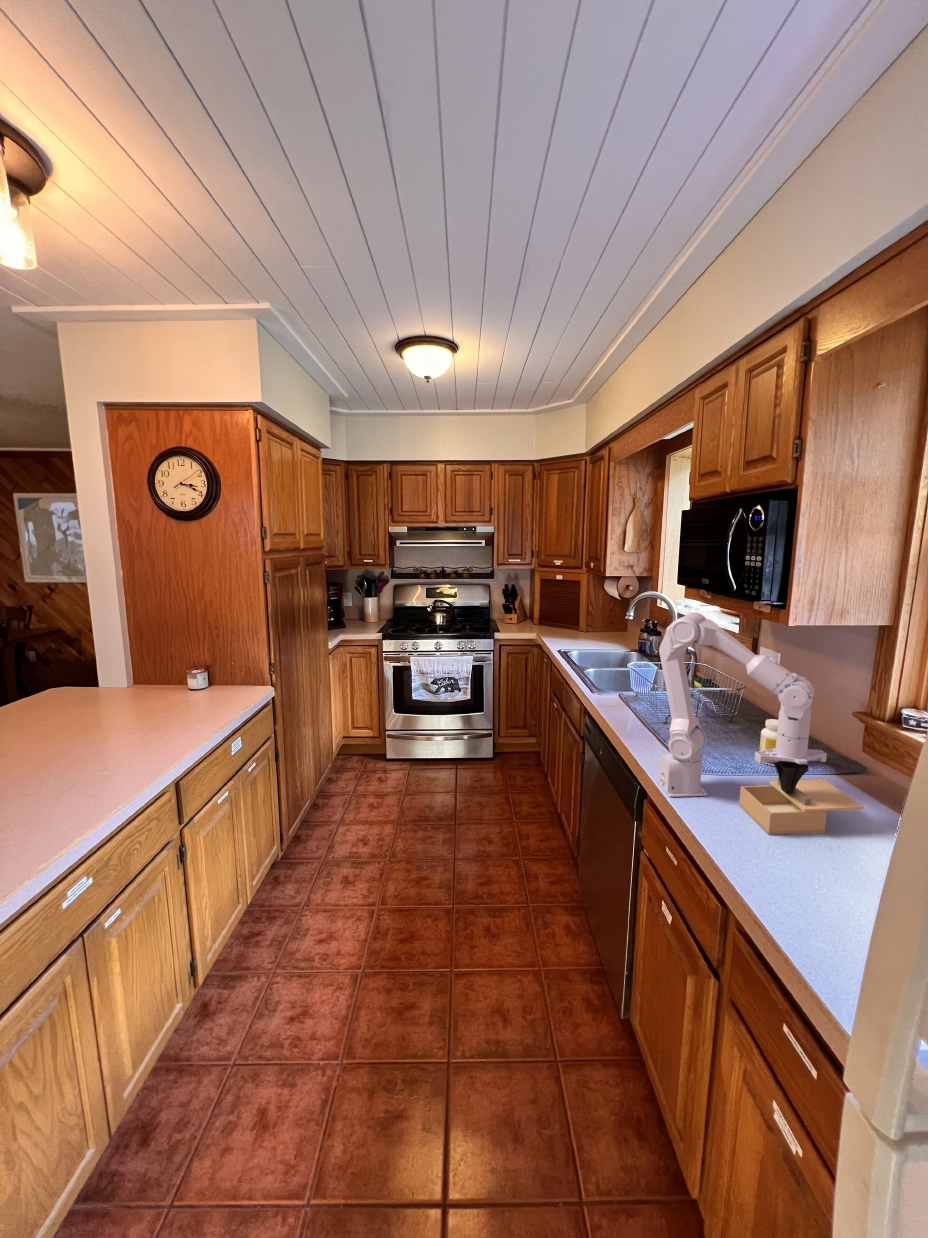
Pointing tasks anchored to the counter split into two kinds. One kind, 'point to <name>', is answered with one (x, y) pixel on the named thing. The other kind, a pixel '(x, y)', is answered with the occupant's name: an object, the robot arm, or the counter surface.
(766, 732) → the pill bottle
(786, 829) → the mailer box
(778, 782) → the lid
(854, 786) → the counter surface
